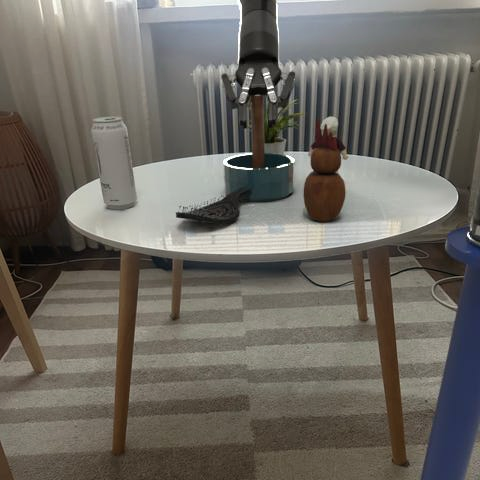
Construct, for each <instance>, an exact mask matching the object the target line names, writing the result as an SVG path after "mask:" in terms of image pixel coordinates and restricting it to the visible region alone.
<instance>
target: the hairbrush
mask: <svg viewBox="0 0 480 480" xmlns="http://www.w3.org/2000/svg"><path fill="white" fill-rule="evenodd" d="M249 194H251V189H242V188H239V189H237V190H235V191H233V192H231V193H230V194H227V195H226V196H223V195H221V196H219V198H217V197H214V199H210V203H209V201H203V204H200V205H196V204H194V205H193V204H192V205H189V207H188V206H182V205H179V210H181V211H182V212H180V211H176V212H175V218H176V219H183V220H189V221H195V222H200V223H207V224H213V225H222V226H223V225H224V226H225V225H227V224H231V223H233V222H236V221H237V220H238V218H239V216H240V201H241V200H240V198H242V197H244V196H247V195H249ZM216 199H217V201H216ZM198 207H199V208H198ZM181 208H182V209H181ZM189 208H190V209H189Z"/></svg>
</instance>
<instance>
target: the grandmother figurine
mask: <svg viewBox="0 0 480 480" xmlns="http://www.w3.org/2000/svg"><path fill="white" fill-rule="evenodd" d="M325 124H327V131H328V136H329V133H330V132H332V139H333V138H336V141H337V149H338V150H339V152H340V154H341V158H342V160H344V161H346V160H348V159H349V155H348V152H347V148H346V146H345V145H344V143H343V141H342V140H341V139H340V138H339V137H336V136H335V135H336V133H337V132H338V131H337V130H338V127H339V120H338V118H337V117H335V116H331V115H330V116H328V117H326V118H325V119H323V121H322V123H320V127H321V132H323V131H324V126H325ZM314 149H315V141H314V142H312V144H311V145H310V148H309V151H308V152H307V155H308V157H309V158H311V154H312V152H313V150H314ZM336 173H338V174H339V170H338V171H337V172H336Z"/></svg>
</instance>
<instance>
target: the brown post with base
mask: <svg viewBox="0 0 480 480" xmlns="http://www.w3.org/2000/svg"><path fill="white" fill-rule="evenodd" d="M250 103H251V104H250V106H251V111H250V120H251V121H250V125H251V129H250V130H251V131H250V132H251V154H252V169H260V168H265V148H264V111H265V95H255V96H251V99H250Z"/></svg>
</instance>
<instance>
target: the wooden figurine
mask: <svg viewBox="0 0 480 480" xmlns="http://www.w3.org/2000/svg"><path fill="white" fill-rule="evenodd" d="M315 127H316V128H315V141H314V142H315V149H314V150H313V152H312V154H311V157H310V168H311V169H312V171H310V172H309V174H308V175H307V176H306V177H305V180H304V183H303V192H302V193H303V194H302V195H303V203H304V206H305V210H306V212H307V215H308V216H309V218H310V219H311V220H314V221H317V222H332V221H335V219H337V218H338V216H339V215H340V213H341V211H342V209H343V207H344V204H345V200H346V185H345V184H346V183H345V181H344V179H343V177H342V176H341V175H340V174H339V170H340V168H341V166H342V154H341V152H340V151H339V150H338V149H337V141H336V138H337V137H336V138H333V139H332V137H333V136H332V132H330V133H329V136H328V131H327V124H325V126H324V131H322V130H321V123H320V120H319V119H317V120H316V126H315ZM337 171H338V173H336V172H337Z"/></svg>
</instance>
